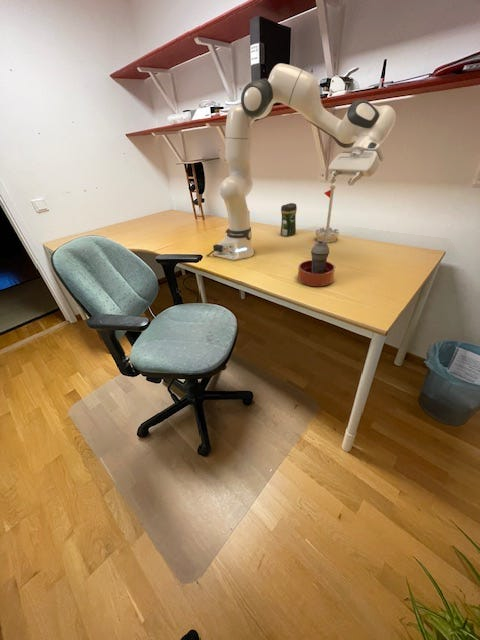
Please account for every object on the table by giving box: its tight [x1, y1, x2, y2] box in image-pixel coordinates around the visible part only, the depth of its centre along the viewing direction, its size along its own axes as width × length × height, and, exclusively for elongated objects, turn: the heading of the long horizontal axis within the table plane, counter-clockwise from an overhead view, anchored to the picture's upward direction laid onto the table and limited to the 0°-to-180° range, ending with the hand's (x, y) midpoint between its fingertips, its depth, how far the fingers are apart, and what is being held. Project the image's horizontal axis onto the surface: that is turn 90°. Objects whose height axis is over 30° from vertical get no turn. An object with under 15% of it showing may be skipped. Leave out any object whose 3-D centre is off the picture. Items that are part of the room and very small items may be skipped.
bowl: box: [297, 259, 336, 287], centre depth 109 cm, size 15×15×6 cm
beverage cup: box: [310, 231, 330, 274], centre depth 105 cm, size 7×7×20 cm
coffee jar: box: [280, 202, 298, 237], centre depth 160 cm, size 10×8×19 cm
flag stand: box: [315, 183, 340, 244], centre depth 144 cm, size 13×13×30 cm
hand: (340, 183), depth 100 cm, fingers open, 8 cm apart
